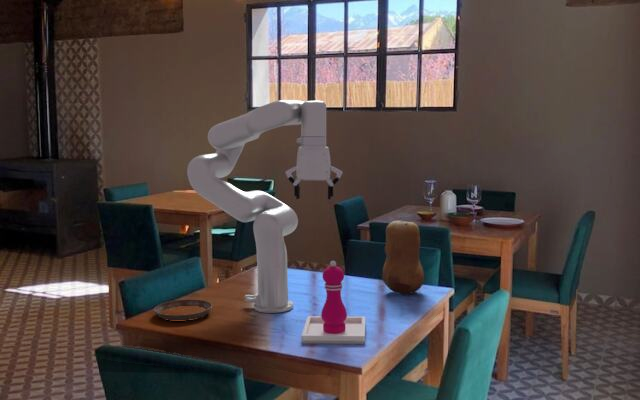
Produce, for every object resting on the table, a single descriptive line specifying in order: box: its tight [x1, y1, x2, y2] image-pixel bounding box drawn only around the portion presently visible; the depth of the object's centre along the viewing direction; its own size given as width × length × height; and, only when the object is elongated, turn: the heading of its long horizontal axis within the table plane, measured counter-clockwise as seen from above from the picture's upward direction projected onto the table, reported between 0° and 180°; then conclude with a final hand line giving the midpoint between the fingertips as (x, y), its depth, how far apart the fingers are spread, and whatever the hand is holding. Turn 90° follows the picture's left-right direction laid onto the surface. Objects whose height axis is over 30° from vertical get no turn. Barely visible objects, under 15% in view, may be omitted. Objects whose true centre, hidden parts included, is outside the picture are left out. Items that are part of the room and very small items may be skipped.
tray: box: [301, 315, 366, 345], centre depth 188 cm, size 17×17×2 cm
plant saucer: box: [153, 298, 213, 320], centre depth 208 cm, size 18×18×3 cm
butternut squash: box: [381, 219, 425, 296], centre depth 226 cm, size 14×13×25 cm
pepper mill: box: [320, 260, 348, 334], centre depth 187 cm, size 7×7×20 cm
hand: (313, 198), depth 203 cm, fingers open, 9 cm apart
